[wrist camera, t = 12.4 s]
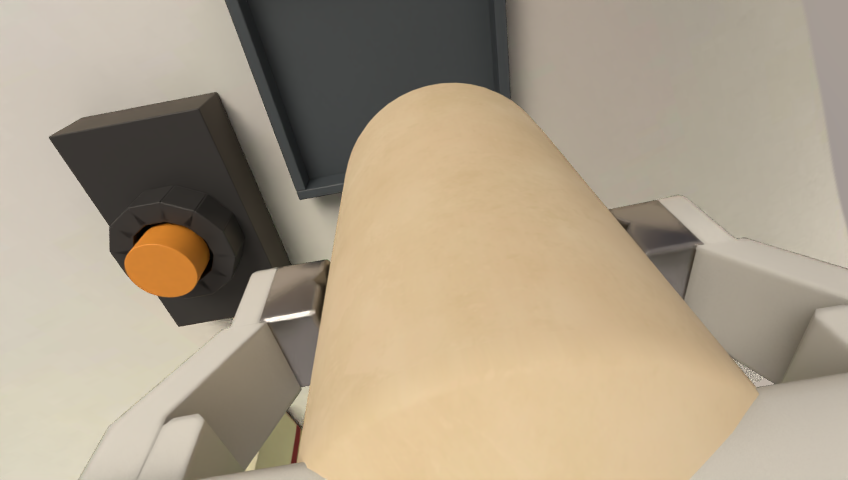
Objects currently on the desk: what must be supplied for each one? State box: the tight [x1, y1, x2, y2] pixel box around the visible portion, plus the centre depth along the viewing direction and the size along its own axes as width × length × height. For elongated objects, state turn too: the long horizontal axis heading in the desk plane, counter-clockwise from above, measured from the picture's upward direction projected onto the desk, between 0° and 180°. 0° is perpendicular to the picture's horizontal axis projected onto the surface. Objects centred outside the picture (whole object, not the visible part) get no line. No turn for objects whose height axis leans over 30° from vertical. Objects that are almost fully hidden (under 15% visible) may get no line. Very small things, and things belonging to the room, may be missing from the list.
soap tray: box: [225, 0, 511, 200], centre depth 24 cm, size 13×13×2 cm
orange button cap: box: [124, 223, 210, 297], centre depth 24 cm, size 4×4×2 cm
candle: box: [297, 83, 759, 480], centre depth 8 cm, size 6×6×10 cm
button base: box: [49, 92, 291, 327], centre depth 27 cm, size 14×8×5 cm, turn 9°
